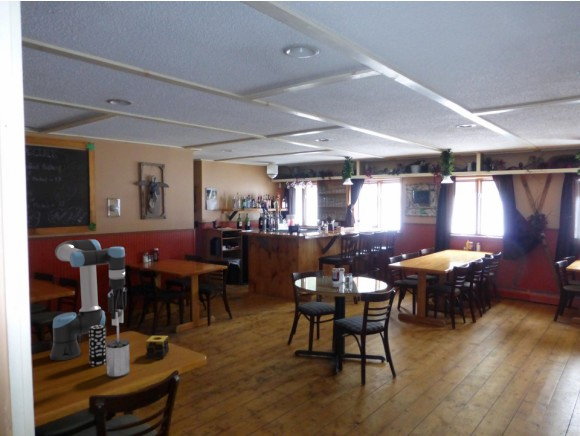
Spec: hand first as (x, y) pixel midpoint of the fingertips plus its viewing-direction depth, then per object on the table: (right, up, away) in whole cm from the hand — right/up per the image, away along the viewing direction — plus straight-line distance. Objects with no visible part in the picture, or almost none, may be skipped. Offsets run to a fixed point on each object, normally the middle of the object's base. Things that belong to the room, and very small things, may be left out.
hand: (117, 323), depth 212 cm
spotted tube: (-17, -25, +14) cm, 33 cm away
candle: (+12, -25, +26) cm, 38 cm away
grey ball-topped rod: (0, -17, +1) cm, 17 cm away
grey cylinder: (0, -26, +3) cm, 26 cm away
